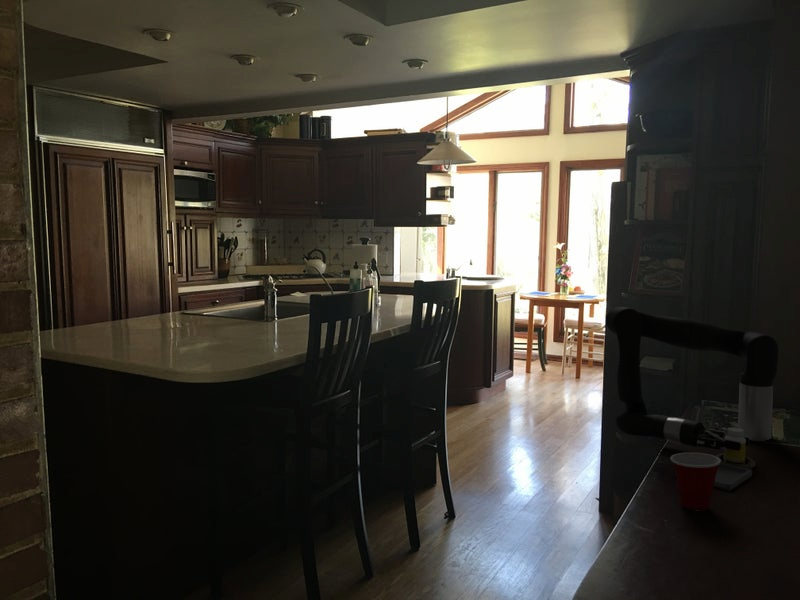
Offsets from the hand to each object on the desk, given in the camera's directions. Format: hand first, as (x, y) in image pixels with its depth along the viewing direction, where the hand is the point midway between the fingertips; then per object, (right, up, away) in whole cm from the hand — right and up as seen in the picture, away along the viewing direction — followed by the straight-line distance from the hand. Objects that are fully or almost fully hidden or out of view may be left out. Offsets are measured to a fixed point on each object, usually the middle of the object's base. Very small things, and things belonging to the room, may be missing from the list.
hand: (744, 444), depth 175 cm
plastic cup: (-26, -9, -26) cm, 38 cm away
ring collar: (-2, -6, +2) cm, 7 cm away
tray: (-12, -7, -7) cm, 15 cm away
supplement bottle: (-2, -6, +2) cm, 7 cm away
